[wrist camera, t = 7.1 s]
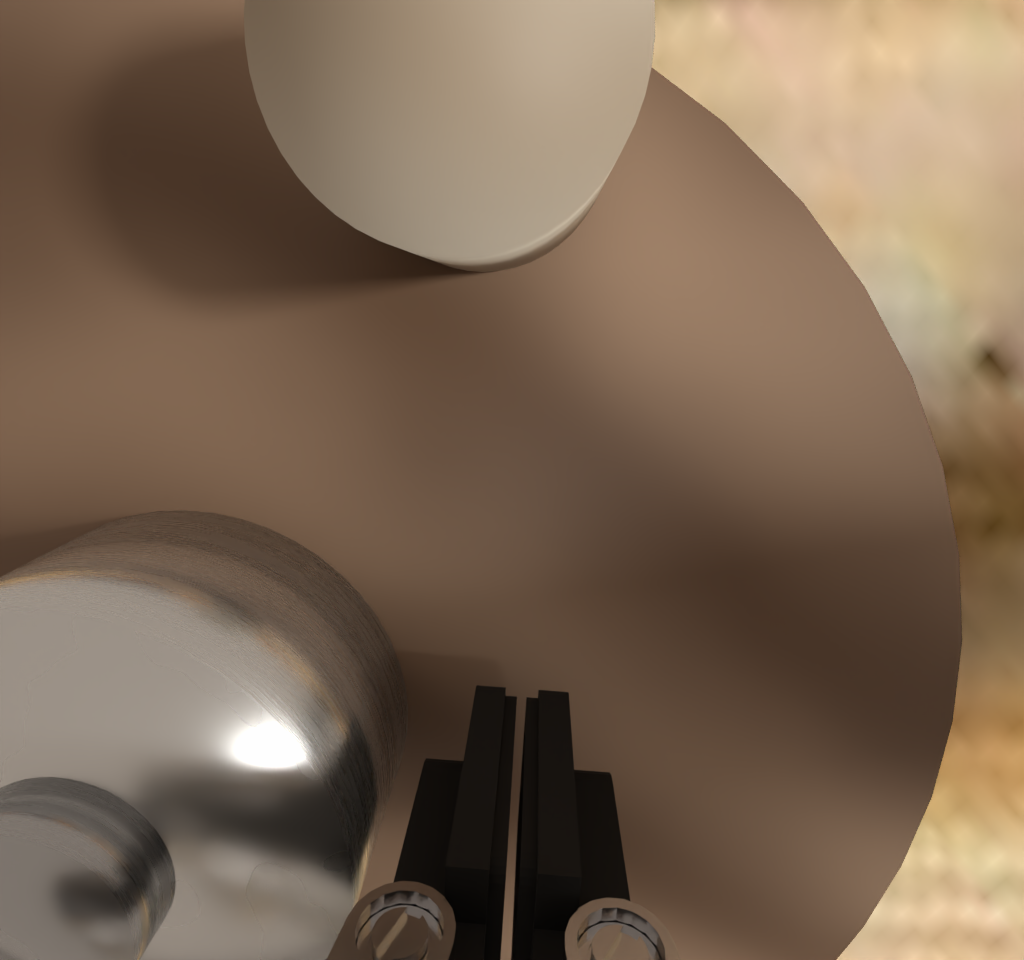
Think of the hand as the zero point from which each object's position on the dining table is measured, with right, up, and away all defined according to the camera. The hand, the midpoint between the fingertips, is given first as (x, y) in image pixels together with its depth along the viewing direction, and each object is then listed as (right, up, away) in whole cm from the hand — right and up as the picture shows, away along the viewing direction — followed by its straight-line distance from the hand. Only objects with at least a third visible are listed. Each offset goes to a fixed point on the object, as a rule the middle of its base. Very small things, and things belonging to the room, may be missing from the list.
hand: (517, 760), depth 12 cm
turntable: (-5, +1, +3) cm, 6 cm away
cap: (-6, +1, +1) cm, 6 cm away
